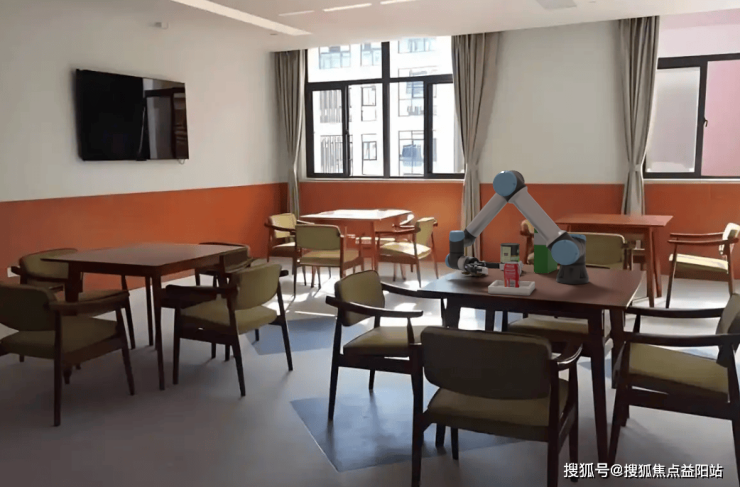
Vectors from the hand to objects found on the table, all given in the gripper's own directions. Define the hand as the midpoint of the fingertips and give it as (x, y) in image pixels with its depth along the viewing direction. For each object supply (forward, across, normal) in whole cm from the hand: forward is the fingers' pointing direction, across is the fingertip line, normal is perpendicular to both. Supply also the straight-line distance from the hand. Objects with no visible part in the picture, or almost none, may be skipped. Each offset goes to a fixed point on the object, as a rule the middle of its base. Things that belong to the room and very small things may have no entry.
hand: (498, 269), depth 305 cm
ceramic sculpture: (-32, -14, -9) cm, 37 cm away
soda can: (+9, 0, -8) cm, 12 cm away
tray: (+9, 0, -9) cm, 12 cm away
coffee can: (-37, -42, -9) cm, 57 cm away
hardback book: (-22, -53, -9) cm, 58 cm away
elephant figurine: (-24, -32, -9) cm, 41 cm away
